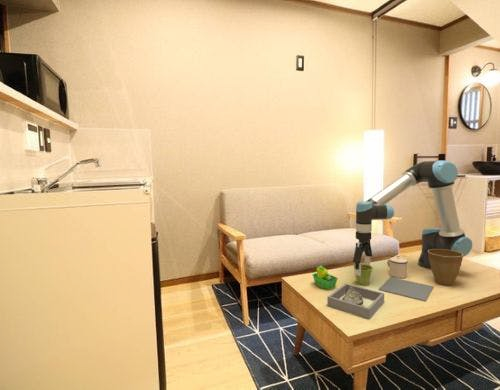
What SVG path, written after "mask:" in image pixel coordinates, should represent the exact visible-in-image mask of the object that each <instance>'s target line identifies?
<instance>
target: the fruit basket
mask: <svg viewBox="0 0 500 390" xmlns="http://www.w3.org/2000/svg"><path fill="white" fill-rule="evenodd" d="M312 277H313V281H314V284H315V285H317V286H319V287H321V288H322V289H325V290H327V291H328V290H332V289H334V288H336V284H337V281H338V277H336V276H334V275H332V274H330V273H329V271H328V269H326V268H325V267H324V266H323V265H319V266H317V267H316V272H315V273H312Z"/></svg>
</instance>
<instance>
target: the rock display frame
mask: <svg viewBox="0 0 500 390" xmlns="http://www.w3.org/2000/svg"><path fill="white" fill-rule="evenodd" d="M350 287H352V288H353V289H354V288H355V289H354V290H355V291H357V292H358V293H359V294H360V295H361V296H362V298H365V299H369V300H373V301H372V302H371V304H370V305H369V306H368V307H367V306H363V305H357V304H354V303H350V302H347V301H344V300H342V299H340V298H342V297H344V296H345V294H346V293H347V291H348V289H349V288H350ZM326 301H327V304H326V305H327V306H328V307H331V308H333V309H338V310H340V311H343V312H347V313H350V314H353V315H355V316H358V317H362V318H365V319H369V320H370V319H371V318H372V317H373V316H374V314H375V313H376V312H377V311H378V310H379V309H380V308H381V306H382V305H383V304H384V303H385V293H384V292H382V291H377V290H374V289H373V290H372V289H370V288H369V289H368V288H365V287H361V286H357V285H354V284H349V283H343V284H342V285H341V286H340V287H339V288H337V289H335V291H333V292H332V293H330V294H329V295H328V296H327V300H326Z"/></svg>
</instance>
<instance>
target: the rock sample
mask: <svg viewBox="0 0 500 390" xmlns="http://www.w3.org/2000/svg"><path fill="white" fill-rule="evenodd" d="M354 289H355V288H354ZM354 289H353V288H352V287H350V288H349V289H348V291H347V292H346V293H345V294H344V295H343V296H342V299H341V300H344V301H347V302H350V303H354V304H357V305H360V306H363V305H364V301H365V300H364V297H362V296H361V295H360V294H359V293H358V292H357V291H355V290H354Z"/></svg>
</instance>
